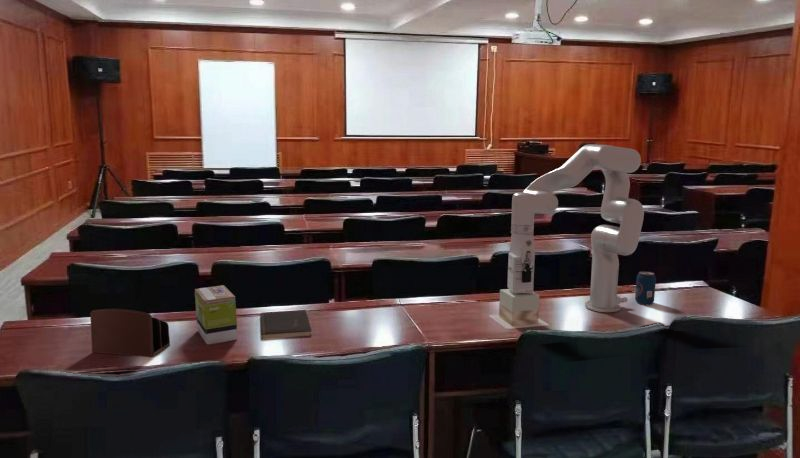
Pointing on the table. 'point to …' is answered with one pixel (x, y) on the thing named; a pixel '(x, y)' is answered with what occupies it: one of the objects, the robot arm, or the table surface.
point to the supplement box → (518, 275)
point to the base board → (508, 326)
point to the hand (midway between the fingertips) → (520, 278)
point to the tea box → (216, 314)
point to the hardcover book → (284, 324)
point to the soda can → (645, 287)
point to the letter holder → (128, 333)
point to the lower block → (518, 316)
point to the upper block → (519, 300)
